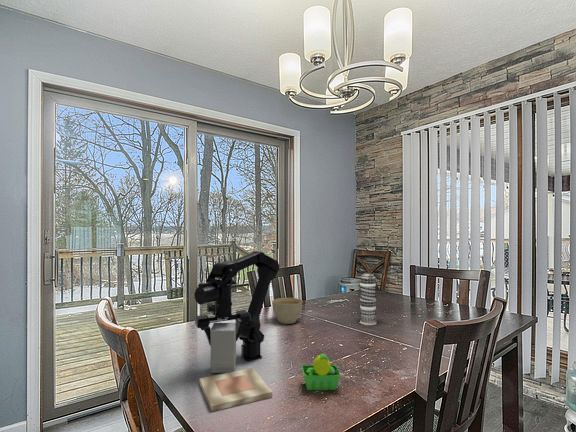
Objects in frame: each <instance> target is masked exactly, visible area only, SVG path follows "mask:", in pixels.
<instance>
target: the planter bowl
mask: <svg viewBox="0 0 576 432" xmlns="http://www.w3.org/2000/svg"><path fill="white" fill-rule="evenodd" d="M271 303H272V305H271V306H272V310H273V313H274V316H275V317H276V319H277V321H278V323H280V324H284V325H288V324H290V325H291V324H296V322H297V320H298V318H299V317H300V314H301V313H302V309H303V300H302V299H301V298H295V297H281V298H276V299H272V301H271Z"/></svg>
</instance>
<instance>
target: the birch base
mask: <svg viewBox="0 0 576 432" xmlns="http://www.w3.org/2000/svg"><path fill="white" fill-rule="evenodd" d="M199 385H200V388H201V390H202V392H203V395H204V398H205V399H206V402H207V405H208V407H209V409H210V411H211V412H215V411H219V410H220V411H221V410H223V409H224V410H225V409H228V408H229V409H230V408H232V407H236V406H241V405H245V404H249V403H252V402H257V401H261V400H262V401H263V400H265V399H266V400H267V399H269V398H272V397H273V390H272V389H271V388H270V387H269V386H268V385H267V383H266V382H265V381H264V380H263V379H262V377H261V376H260V375H259V374H258V373H257V371H256V370H255V369H254V368H253V367H251V368H246V369H240V370H236V371H235V370H234V372H230V373H219V374H216V375H210V376H205V377H200V378H199Z"/></svg>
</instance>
